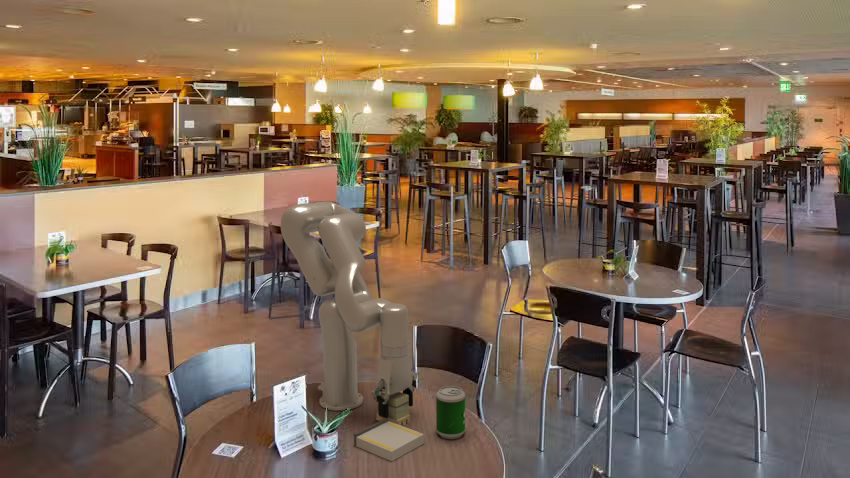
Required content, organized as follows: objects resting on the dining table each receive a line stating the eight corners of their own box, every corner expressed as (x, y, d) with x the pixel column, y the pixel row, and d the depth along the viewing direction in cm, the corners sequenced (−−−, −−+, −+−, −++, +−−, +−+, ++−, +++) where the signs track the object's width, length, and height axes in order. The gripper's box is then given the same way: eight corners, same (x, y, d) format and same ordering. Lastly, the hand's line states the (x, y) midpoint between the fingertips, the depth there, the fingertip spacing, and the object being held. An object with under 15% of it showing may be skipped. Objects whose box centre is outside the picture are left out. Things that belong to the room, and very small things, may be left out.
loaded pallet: (376, 419, 183) (375, 393, 182) (389, 413, 187) (388, 388, 186) (398, 428, 178) (397, 401, 177) (410, 421, 182) (410, 395, 181)
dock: (354, 445, 168) (353, 433, 168) (386, 429, 178) (386, 417, 177) (391, 461, 160) (391, 448, 160) (423, 443, 170) (423, 431, 169)
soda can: (462, 441, 170) (463, 397, 168) (433, 439, 172) (433, 394, 170) (467, 428, 178) (467, 385, 176) (439, 426, 179) (439, 383, 177)
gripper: (405, 339, 188) (406, 397, 191) (361, 355, 175) (363, 417, 178) (426, 344, 183) (427, 404, 186) (382, 361, 170) (383, 425, 173)
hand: (395, 410), depth 182 cm, fingers open, 9 cm apart
